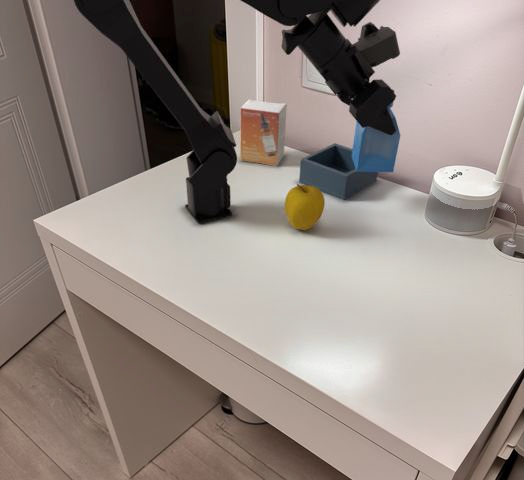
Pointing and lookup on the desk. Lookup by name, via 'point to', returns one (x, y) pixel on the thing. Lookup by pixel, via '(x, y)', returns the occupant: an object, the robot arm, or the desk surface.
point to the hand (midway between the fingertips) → (386, 125)
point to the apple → (304, 206)
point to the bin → (334, 172)
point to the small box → (262, 132)
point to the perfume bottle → (375, 148)
